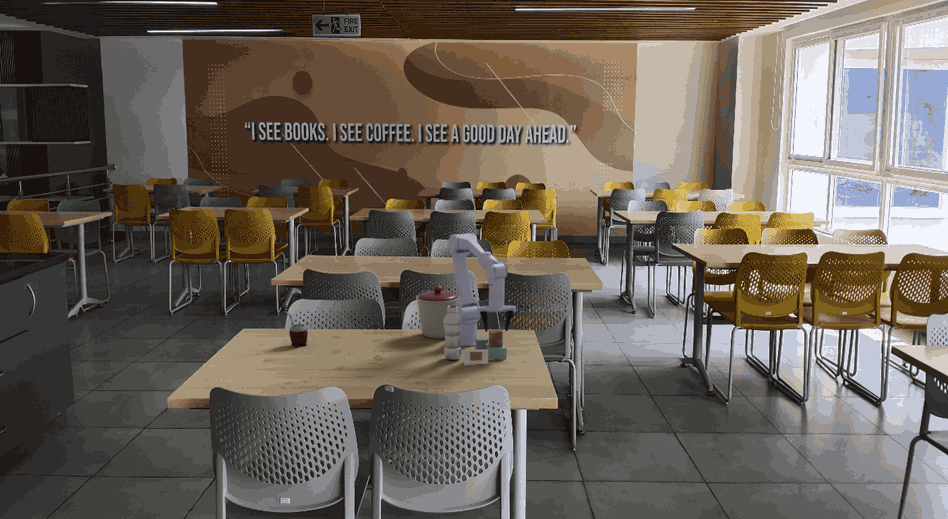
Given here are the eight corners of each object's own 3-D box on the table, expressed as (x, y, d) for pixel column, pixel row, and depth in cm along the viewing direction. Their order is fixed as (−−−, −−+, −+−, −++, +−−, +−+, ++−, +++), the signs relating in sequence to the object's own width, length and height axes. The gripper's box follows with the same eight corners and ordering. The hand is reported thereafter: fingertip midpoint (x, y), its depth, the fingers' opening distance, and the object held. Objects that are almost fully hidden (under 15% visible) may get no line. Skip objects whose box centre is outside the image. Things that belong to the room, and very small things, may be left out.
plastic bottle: (459, 362, 261) (459, 309, 257) (441, 361, 262) (441, 308, 259) (463, 357, 267) (463, 305, 263) (445, 356, 268) (445, 304, 265)
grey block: (476, 354, 271) (476, 340, 270) (475, 351, 275) (475, 336, 274) (488, 353, 271) (488, 339, 270) (486, 350, 276) (486, 336, 275)
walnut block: (490, 347, 265) (491, 332, 264) (488, 344, 269) (489, 329, 268) (502, 346, 265) (502, 332, 265) (500, 343, 270) (500, 329, 269)
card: (464, 365, 257) (464, 351, 257) (463, 362, 260) (463, 349, 260) (488, 364, 259) (488, 351, 258) (487, 361, 261) (487, 348, 261)
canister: (409, 339, 290) (409, 288, 287) (425, 328, 307) (425, 280, 304) (451, 343, 285) (451, 291, 282) (465, 331, 302) (465, 283, 299)
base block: (487, 360, 264) (487, 348, 263) (485, 354, 271) (485, 343, 270) (506, 359, 265) (506, 348, 264) (504, 354, 272) (504, 342, 271)
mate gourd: (310, 343, 284) (309, 306, 282) (303, 349, 277) (302, 311, 274) (292, 342, 285) (291, 306, 283) (285, 348, 277) (283, 310, 275)
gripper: (478, 298, 260) (478, 334, 262) (517, 297, 261) (517, 333, 264) (476, 293, 267) (476, 329, 269) (514, 293, 268) (513, 328, 271)
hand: (496, 330), depth 267 cm, fingers open, 7 cm apart
